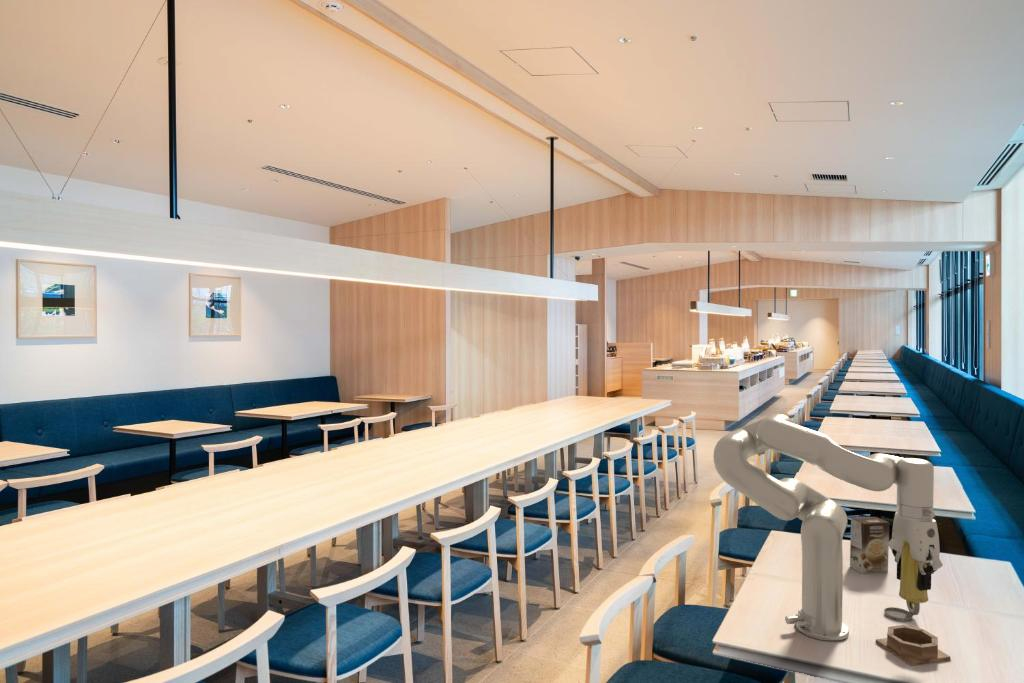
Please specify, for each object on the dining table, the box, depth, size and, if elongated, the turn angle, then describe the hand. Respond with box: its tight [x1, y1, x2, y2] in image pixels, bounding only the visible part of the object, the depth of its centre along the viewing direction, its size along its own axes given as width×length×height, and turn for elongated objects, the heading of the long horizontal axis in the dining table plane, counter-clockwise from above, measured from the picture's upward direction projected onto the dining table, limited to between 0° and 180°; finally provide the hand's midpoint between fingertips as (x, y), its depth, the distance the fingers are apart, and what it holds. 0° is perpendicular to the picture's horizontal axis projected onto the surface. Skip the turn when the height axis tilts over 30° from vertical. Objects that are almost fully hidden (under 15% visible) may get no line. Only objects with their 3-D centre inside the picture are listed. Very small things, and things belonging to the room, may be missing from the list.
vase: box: [898, 540, 929, 604], centre depth 159 cm, size 6×6×14 cm
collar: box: [875, 624, 951, 667], centre depth 160 cm, size 11×11×4 cm
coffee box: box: [849, 516, 890, 574], centre depth 210 cm, size 9×6×16 cm
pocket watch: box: [883, 600, 921, 621], centre depth 178 cm, size 8×8×10 cm
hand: (913, 583), depth 159 cm, fingers closed on vase, 5 cm apart
